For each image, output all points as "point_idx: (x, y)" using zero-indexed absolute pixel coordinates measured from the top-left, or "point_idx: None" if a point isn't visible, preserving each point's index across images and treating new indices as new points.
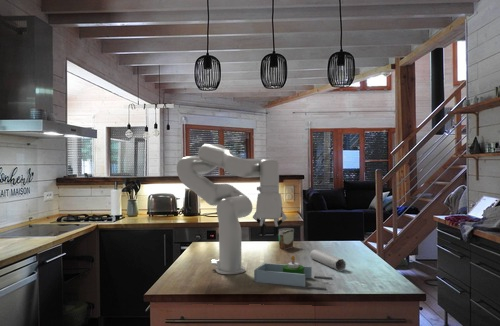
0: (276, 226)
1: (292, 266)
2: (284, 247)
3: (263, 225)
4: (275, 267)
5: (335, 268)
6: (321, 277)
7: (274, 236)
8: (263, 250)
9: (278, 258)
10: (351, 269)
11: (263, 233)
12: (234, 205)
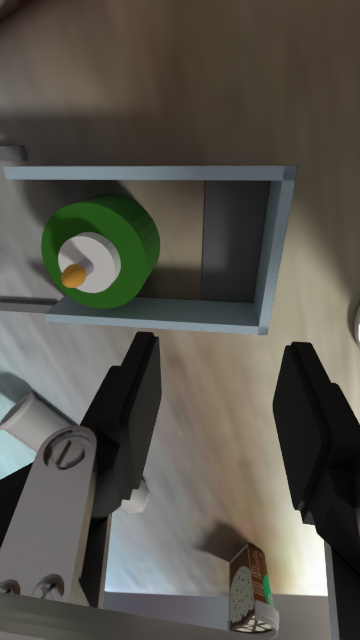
0: (79, 429)
1: (81, 233)
2: (247, 552)
3: (332, 475)
4: (207, 316)
5: (37, 400)
6: (33, 303)
7: (150, 332)
8: (310, 538)
9: (246, 478)
10: (5, 409)
11: (295, 360)
12: None
